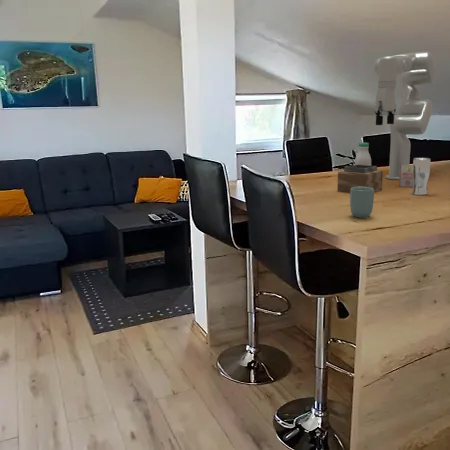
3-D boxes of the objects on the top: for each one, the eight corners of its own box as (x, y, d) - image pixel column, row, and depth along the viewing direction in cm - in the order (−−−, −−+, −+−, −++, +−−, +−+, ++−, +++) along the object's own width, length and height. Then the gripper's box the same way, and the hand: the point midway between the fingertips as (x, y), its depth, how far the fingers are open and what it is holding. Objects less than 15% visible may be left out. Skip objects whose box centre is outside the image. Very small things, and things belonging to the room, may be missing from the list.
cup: (346, 214, 172) (347, 187, 170) (367, 213, 173) (368, 186, 170) (354, 219, 165) (355, 191, 162) (376, 218, 165) (377, 190, 163)
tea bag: (399, 185, 226) (400, 164, 223) (414, 186, 223) (416, 164, 221) (399, 187, 222) (400, 165, 220) (414, 187, 220) (416, 165, 218)
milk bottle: (371, 186, 226) (373, 143, 221) (354, 186, 227) (355, 143, 222) (369, 183, 233) (371, 142, 228) (353, 183, 235) (354, 142, 230)
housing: (354, 186, 226) (355, 163, 224) (381, 190, 216) (383, 166, 213) (337, 190, 217) (338, 167, 214) (364, 194, 207) (365, 169, 204)
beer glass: (427, 192, 207) (430, 157, 204) (428, 195, 201) (431, 159, 197) (410, 192, 209) (412, 157, 206) (410, 195, 203) (413, 159, 199)
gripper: (389, 86, 224) (387, 123, 228) (368, 86, 213) (367, 125, 217) (404, 85, 219) (401, 123, 223) (384, 85, 207) (382, 125, 212)
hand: (384, 124), depth 220 cm, fingers open, 9 cm apart
